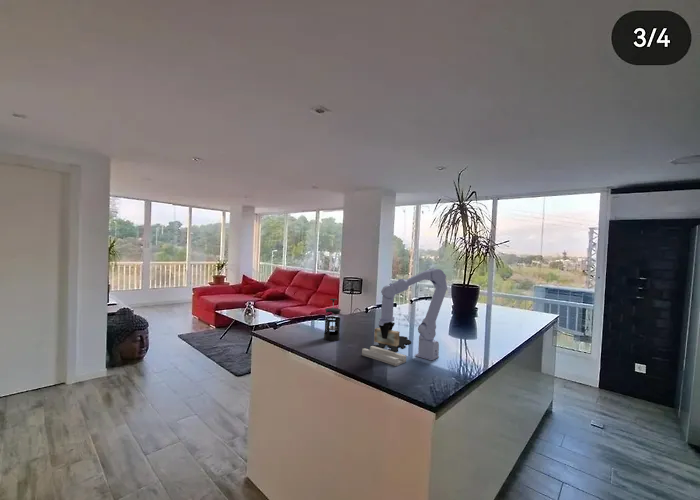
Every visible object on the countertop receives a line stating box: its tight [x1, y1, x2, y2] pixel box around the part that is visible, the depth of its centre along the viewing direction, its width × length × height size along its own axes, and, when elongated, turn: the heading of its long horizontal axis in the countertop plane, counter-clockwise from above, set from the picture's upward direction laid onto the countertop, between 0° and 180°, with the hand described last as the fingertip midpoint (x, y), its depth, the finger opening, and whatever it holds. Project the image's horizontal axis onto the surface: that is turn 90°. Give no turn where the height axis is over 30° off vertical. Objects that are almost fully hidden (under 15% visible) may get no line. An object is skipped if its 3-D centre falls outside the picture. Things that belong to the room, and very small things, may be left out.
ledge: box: [361, 345, 407, 367], centre depth 156 cm, size 20×8×3 cm, turn 48°
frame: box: [373, 327, 400, 346], centre depth 161 cm, size 12×3×6 cm, turn 60°
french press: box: [323, 298, 342, 342], centre depth 187 cm, size 12×9×23 cm
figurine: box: [372, 335, 412, 353], centre depth 183 cm, size 16×1×30 cm
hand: (386, 337), depth 161 cm, fingers closed on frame, 3 cm apart
